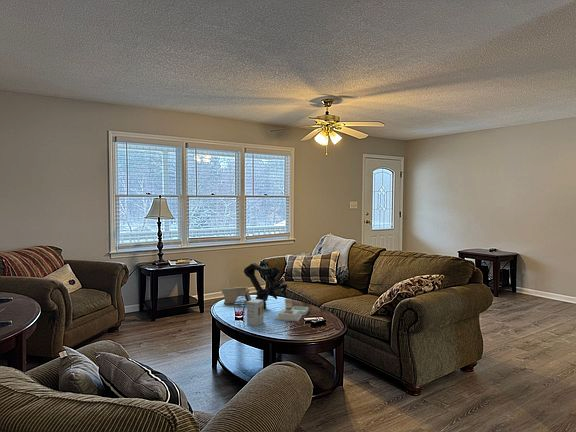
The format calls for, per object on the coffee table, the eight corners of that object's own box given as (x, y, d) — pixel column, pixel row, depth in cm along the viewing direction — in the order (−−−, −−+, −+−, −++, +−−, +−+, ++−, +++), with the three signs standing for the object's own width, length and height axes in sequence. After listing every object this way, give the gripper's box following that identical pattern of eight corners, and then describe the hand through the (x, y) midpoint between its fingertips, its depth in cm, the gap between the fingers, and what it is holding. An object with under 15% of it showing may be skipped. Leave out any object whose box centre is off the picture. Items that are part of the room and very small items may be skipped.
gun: (252, 303, 339) (250, 286, 339) (251, 304, 336) (249, 287, 335) (224, 305, 342) (222, 288, 341) (223, 306, 338) (221, 289, 338)
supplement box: (257, 326, 280) (257, 303, 279) (246, 324, 284) (246, 301, 283) (264, 322, 289) (263, 299, 288) (252, 321, 292) (252, 298, 291)
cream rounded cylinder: (284, 317, 298) (284, 300, 297) (286, 315, 302) (286, 298, 302) (291, 317, 296) (290, 300, 296) (292, 315, 301) (292, 298, 300)
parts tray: (290, 314, 308) (290, 310, 308) (294, 309, 320) (293, 306, 320) (305, 315, 305) (305, 311, 305) (308, 310, 317) (308, 307, 317)
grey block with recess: (274, 319, 295) (274, 313, 295) (279, 314, 308) (279, 308, 308) (298, 321, 290) (298, 315, 290) (302, 315, 304) (302, 310, 304)
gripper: (267, 277, 302) (277, 294, 294) (286, 273, 314) (295, 290, 306) (261, 285, 308) (270, 302, 300) (279, 282, 320) (288, 298, 313)
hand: (281, 298), depth 305 cm, fingers open, 9 cm apart
